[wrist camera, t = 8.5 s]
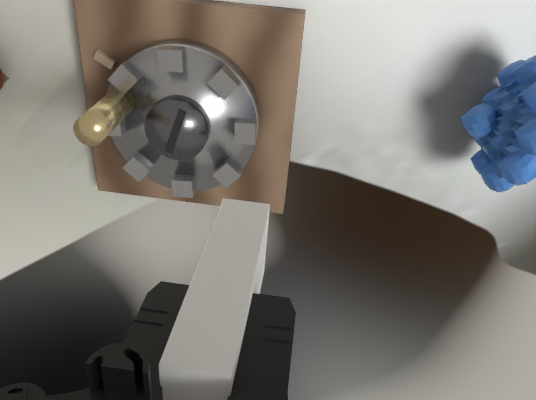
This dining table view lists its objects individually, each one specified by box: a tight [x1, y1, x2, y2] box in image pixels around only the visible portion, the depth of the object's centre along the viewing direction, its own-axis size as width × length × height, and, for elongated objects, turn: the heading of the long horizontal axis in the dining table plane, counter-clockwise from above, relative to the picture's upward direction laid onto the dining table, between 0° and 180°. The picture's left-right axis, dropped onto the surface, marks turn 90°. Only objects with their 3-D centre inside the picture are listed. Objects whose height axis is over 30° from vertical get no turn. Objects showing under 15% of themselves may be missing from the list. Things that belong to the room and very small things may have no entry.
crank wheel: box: [73, 39, 260, 198], centre depth 43 cm, size 14×14×10 cm
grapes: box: [460, 56, 536, 192], centre depth 40 cm, size 12×7×12 cm, turn 174°
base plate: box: [74, 0, 305, 214], centre depth 48 cm, size 20×20×2 cm
